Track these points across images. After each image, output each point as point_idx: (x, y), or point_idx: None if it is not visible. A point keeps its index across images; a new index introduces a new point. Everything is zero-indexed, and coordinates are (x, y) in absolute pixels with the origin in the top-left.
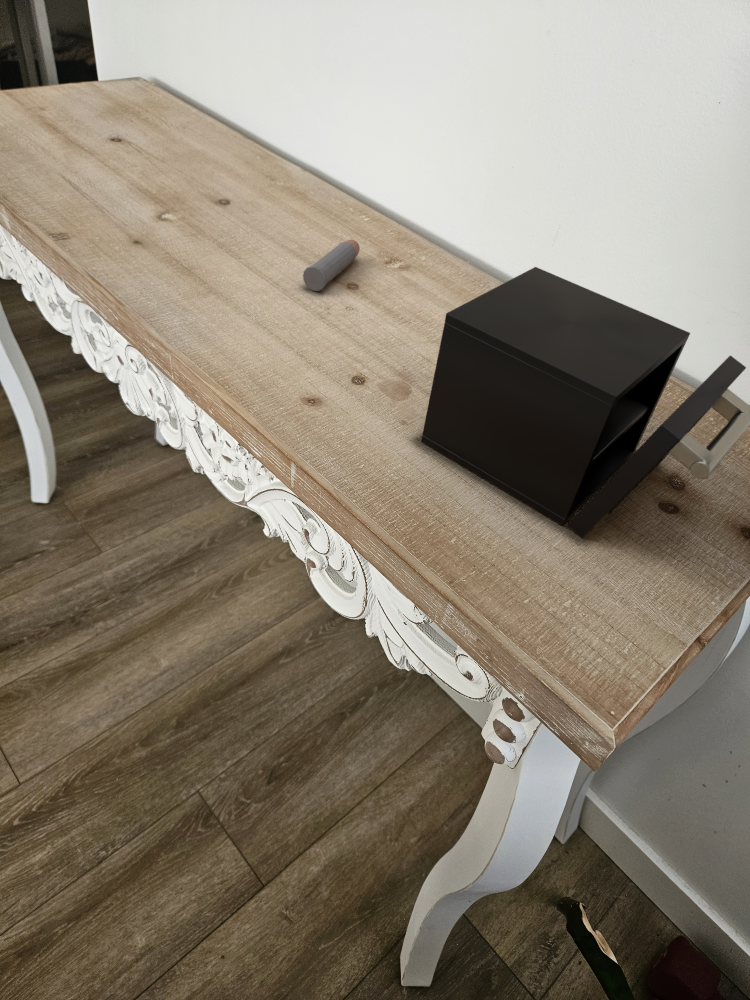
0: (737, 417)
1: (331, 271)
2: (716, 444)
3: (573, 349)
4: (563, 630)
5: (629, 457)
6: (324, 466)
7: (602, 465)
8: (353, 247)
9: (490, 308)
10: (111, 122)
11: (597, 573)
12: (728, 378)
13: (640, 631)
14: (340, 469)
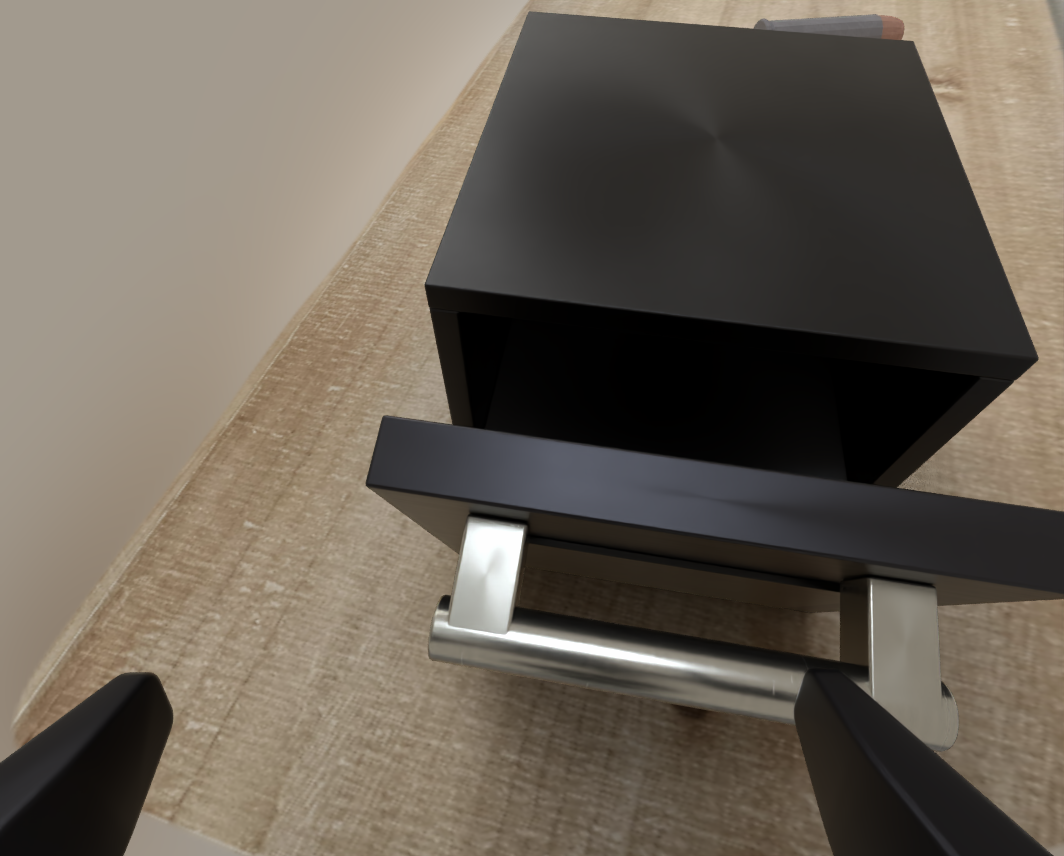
0: None
1: None
2: (573, 633)
3: (589, 170)
4: (203, 602)
5: None
6: (392, 217)
7: None
8: (880, 27)
9: (620, 41)
10: None
11: (379, 611)
12: (907, 546)
13: (257, 739)
14: (398, 231)
